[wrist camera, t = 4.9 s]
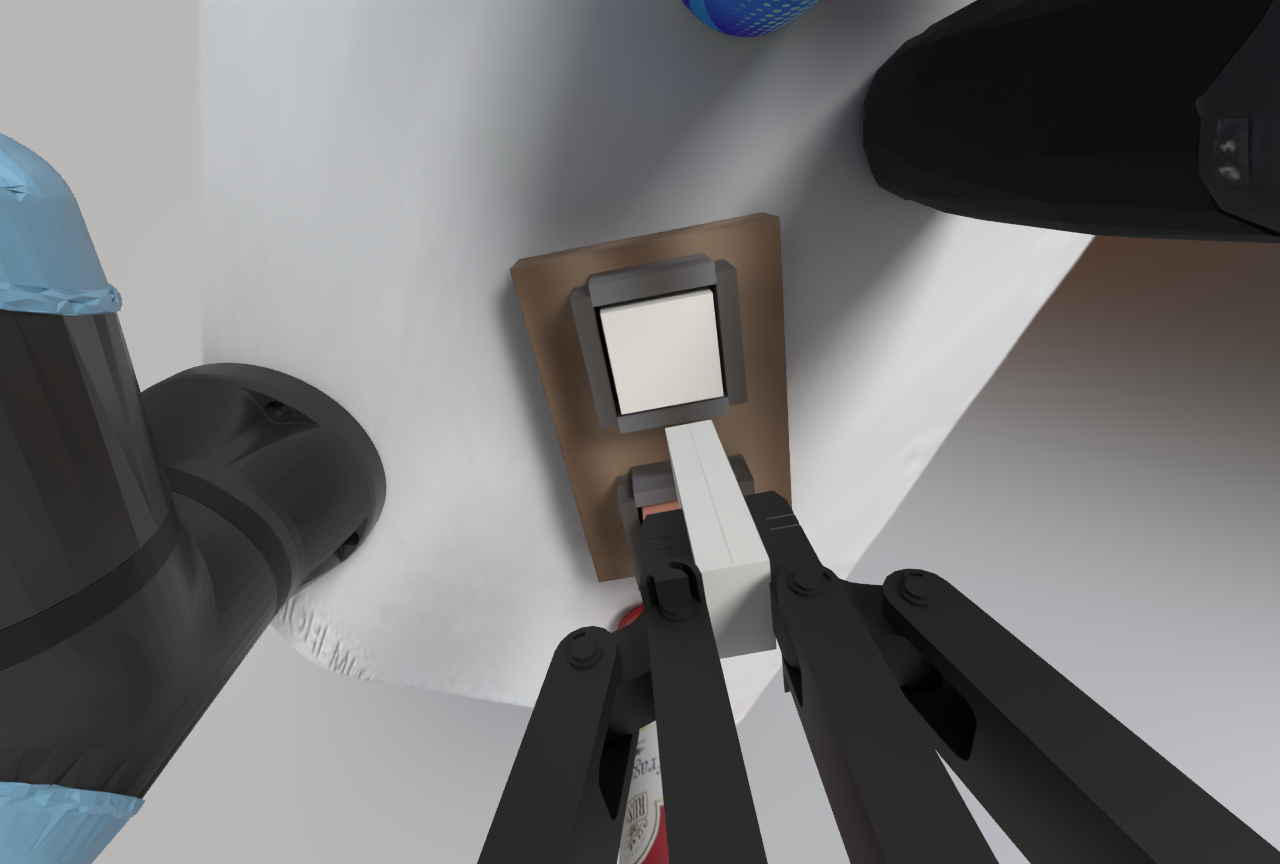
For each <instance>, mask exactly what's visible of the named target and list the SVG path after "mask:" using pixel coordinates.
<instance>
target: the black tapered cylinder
mask: <svg viewBox="0 0 1280 864" xmlns="http://www.w3.org/2000/svg"><path fill="white" fill-rule="evenodd" d="M864 107H865V113H866V116H865V118H864V120H863V135H864V149H865V152H866V155H867V158H868V161H869V165H870V168H871V171H872V174H873V175H874V177H875V179H876V181H877V183H878V185H879V186H880V187H882V188H884V189H886V190H888V191H890V192H892V193H894V194H895V195H897V196H899V197H901V198H903V199H905V200H913V201H916V202H918V203H921V204H923V205H926V206H929V207H931V208H934V209H937V210H939V211H942V212H945V213H950V214H955V215H960V216H965V217H970V218H975V219H980V220H987V221H994V222H1002V223H1009V224H1016V225H1024V226H1031V227H1039V228H1046V229H1053V230H1061V231H1068V232H1076V233H1083V234H1091V235H1103V236H1118V237H1132V238H1151V239H1152V238H1153V239H1179V240H1205V241H1232V242H1259V243H1280V0H977V1H975V2H973V3H971V4H969V5H967V6H966V7H964V8H962V9H960V10H958V11H957V12H955V13H953V14H951V15H949V16H947V17H946V18H944V19H942V20H940V21H938V22H937V23H935V24H933V25H931V26H930V27H929V28H928V29H927V30H925V31H924V32H923V33H922V34H920V35H918V36H916V37H914V38H911V39H909V40H907V41H906V42H905V43H904V44H903V45H902V46H901V47H900V48H899V49H898V50H897V51H896V52H895V53H894V54H893V55H892V57H891V58H890V59H889V60H888V61H887V62H886V63H885V64H884V65H883V66H882V67H881V68H880V69H879V70H878V71H877V73H876V76H875V78H874V80H873V83H872V85H871V87H870V90H869V92H868V94H867V97H866V99H865V101H864Z"/></svg>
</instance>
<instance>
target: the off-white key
mask: <svg viewBox="0 0 1280 864" xmlns="http://www.w3.org/2000/svg"><path fill="white" fill-rule="evenodd" d="M600 315H601V319H602V324H603V329H604V334H605V338H606V343H607V348H608V352H609V357H610V362H611V367H612V371H613V376H614V381H615V385H616V390H617V395H618V399H619V404H620V409H621V414H628V413H633V412H638V411H644V410H649V409H655V408H660V407H666V406H671V405H677V404H682V403H688V402H693V401H699V400H704V399H710V398H715V397H721V396H723V386H722V377H721V368H720V358H719V349H718V339H717V330H716V321H715V311H714V302H713V293H712V292H711V290H710V289H709V288H708V287H707V286H702V287H696V288H691V289H686V290H681V291H675V292H670V293H665V294H660V295H654V296H649V297H644V298H638V299H633V300H628V301H623V302H617V303H612V304H607V305H601V310H600Z"/></svg>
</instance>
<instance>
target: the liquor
mask: <svg viewBox="0 0 1280 864" xmlns="http://www.w3.org/2000/svg"><path fill="white" fill-rule="evenodd" d="M643 609H644V605H642V606H640V607H637V608H635V609H634V610H632V611H631V612H629V613H628V614H627V615H626V616H625V617H624V618H623V619H622V621H621V622H620V624H619V626H618V629H617V630H619V629H621V628H623V627H625V626H626V625H628V624H630V623H631V622H633V621H634V620H635V619H636V618H637V617H638V616H639V615H640V614H641V612H642V611H643ZM620 864H669V856H668V845H667V834H666V824H665V813H664V802H663V792H662V781H661V770H660V760H659V749H658V738H657V728H656V721H654V722H652V723H650V724H648V725H646V726H645V727H643V728H641V729H640V733H639V738H638V744H637V750H636V755H635V761H634V767H633V773H632V778H631V784H630V790H629V795H628V801H627V807H626V813H625V818H624V824H623V830H622V836H621V841H620Z"/></svg>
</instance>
